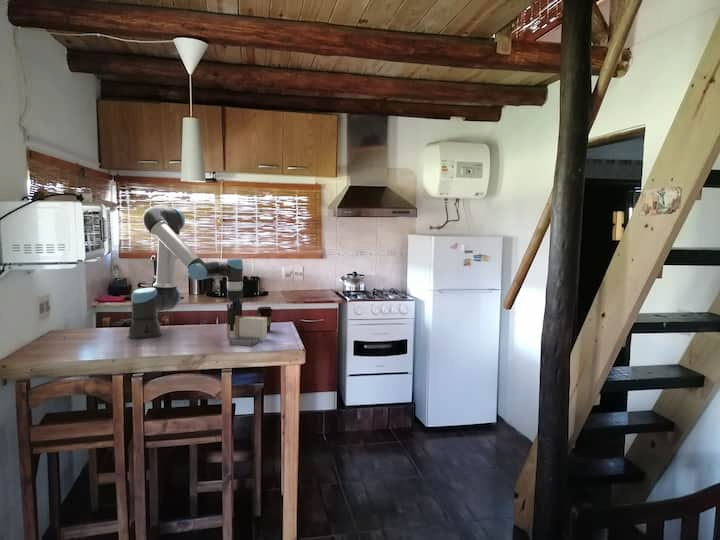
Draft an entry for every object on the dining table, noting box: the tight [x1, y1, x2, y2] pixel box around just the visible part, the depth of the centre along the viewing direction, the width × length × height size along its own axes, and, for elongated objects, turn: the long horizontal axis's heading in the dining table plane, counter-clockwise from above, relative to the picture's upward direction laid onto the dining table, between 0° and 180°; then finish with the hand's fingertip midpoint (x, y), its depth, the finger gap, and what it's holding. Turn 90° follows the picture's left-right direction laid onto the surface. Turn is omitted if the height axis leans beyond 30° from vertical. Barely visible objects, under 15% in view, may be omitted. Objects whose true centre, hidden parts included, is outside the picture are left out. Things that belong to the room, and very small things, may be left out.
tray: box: [229, 336, 260, 347], centre depth 230 cm, size 11×9×2 cm
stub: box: [226, 315, 244, 340], centre depth 239 cm, size 6×5×11 cm
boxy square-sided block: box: [239, 315, 268, 343], centre depth 238 cm, size 12×6×11 cm, turn 81°
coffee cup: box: [256, 306, 274, 333], centre depth 256 cm, size 9×8×13 cm
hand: (234, 335), depth 240 cm, fingers closed on stub, 5 cm apart
